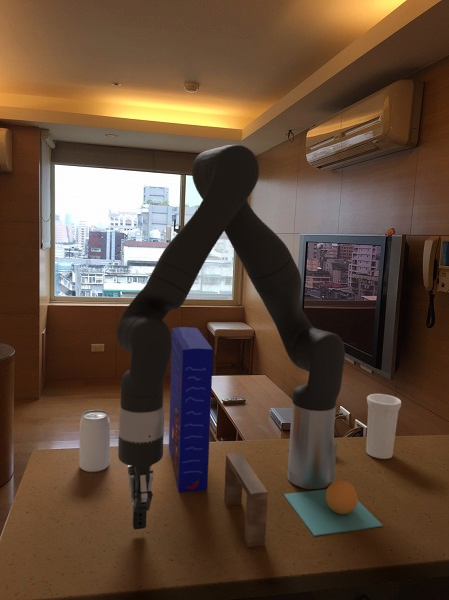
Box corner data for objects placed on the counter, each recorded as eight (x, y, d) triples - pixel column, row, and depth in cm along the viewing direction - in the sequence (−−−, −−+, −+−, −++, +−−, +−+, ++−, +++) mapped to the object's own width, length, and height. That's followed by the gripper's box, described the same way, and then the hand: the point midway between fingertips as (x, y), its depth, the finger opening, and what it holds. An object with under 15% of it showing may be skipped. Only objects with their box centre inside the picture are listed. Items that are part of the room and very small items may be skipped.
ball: (326, 508, 97) (351, 492, 98) (341, 526, 91) (368, 509, 92) (315, 485, 96) (341, 469, 97) (330, 502, 90) (357, 485, 91)
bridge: (238, 498, 97) (240, 452, 96) (264, 545, 83) (267, 491, 82) (224, 500, 97) (226, 454, 95) (248, 547, 82) (251, 493, 81)
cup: (401, 462, 117) (406, 405, 115) (367, 461, 117) (372, 403, 115) (390, 448, 125) (395, 394, 123) (358, 446, 125) (363, 392, 123)
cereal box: (207, 490, 100) (213, 348, 96) (178, 492, 99) (183, 348, 95) (192, 445, 121) (197, 326, 117) (168, 446, 120) (172, 326, 116)
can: (101, 474, 105) (102, 421, 103) (73, 470, 106) (74, 417, 104) (114, 461, 111) (114, 411, 109) (88, 457, 112) (88, 407, 111)
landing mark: (344, 488, 103) (344, 487, 103) (382, 526, 90) (383, 525, 90) (283, 495, 100) (283, 494, 100) (314, 536, 86) (314, 535, 86)
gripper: (169, 446, 77) (166, 547, 79) (157, 415, 90) (155, 503, 92) (121, 449, 75) (119, 553, 77) (116, 418, 87) (114, 508, 90)
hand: (139, 526), depth 84 cm, fingers closed
